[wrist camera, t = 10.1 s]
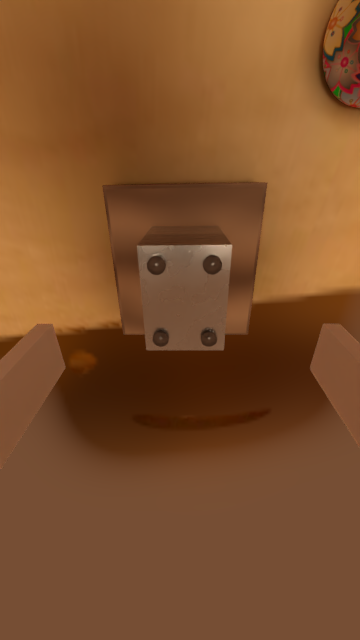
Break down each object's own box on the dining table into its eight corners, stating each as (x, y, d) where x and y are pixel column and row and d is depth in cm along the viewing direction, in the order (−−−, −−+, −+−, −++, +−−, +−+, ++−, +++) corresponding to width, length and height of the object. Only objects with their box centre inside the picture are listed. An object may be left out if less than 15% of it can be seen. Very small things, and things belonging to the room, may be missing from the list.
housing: (151, 226, 23) (135, 247, 16) (218, 225, 23) (233, 246, 16) (156, 306, 27) (145, 353, 20) (213, 306, 27) (224, 353, 20)
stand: (114, 185, 26) (101, 185, 22) (255, 182, 25) (268, 182, 21) (130, 318, 33) (123, 336, 29) (241, 317, 32) (248, 335, 29)
